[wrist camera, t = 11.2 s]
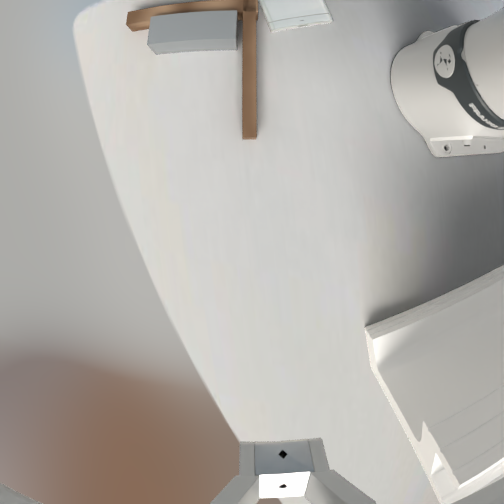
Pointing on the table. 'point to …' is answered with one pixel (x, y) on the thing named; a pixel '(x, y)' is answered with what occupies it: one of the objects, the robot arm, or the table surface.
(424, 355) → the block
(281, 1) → the hard drive
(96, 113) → the table surface
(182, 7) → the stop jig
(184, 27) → the block
